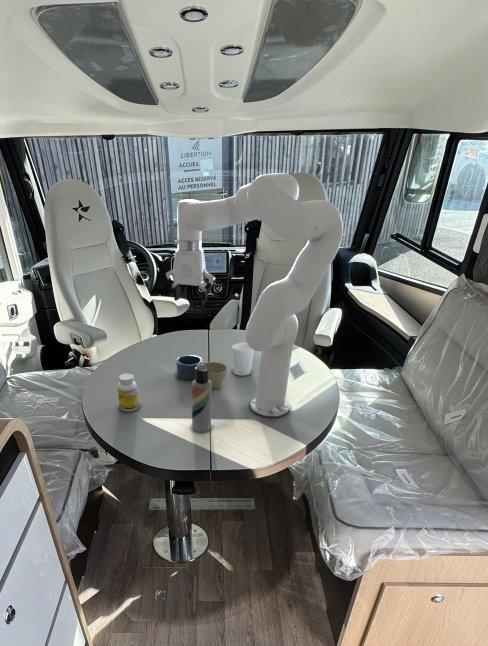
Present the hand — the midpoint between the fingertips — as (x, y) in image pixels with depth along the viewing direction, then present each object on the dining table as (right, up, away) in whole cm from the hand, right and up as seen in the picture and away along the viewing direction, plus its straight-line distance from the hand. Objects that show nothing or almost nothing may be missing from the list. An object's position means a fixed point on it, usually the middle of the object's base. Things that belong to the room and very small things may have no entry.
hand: (190, 301), depth 149 cm
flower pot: (+8, -27, +9) cm, 30 cm away
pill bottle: (-20, -37, -4) cm, 42 cm away
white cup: (+19, -20, +19) cm, 34 cm away
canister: (-1, -22, +17) cm, 27 cm away
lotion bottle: (+4, -44, -14) cm, 47 cm away
